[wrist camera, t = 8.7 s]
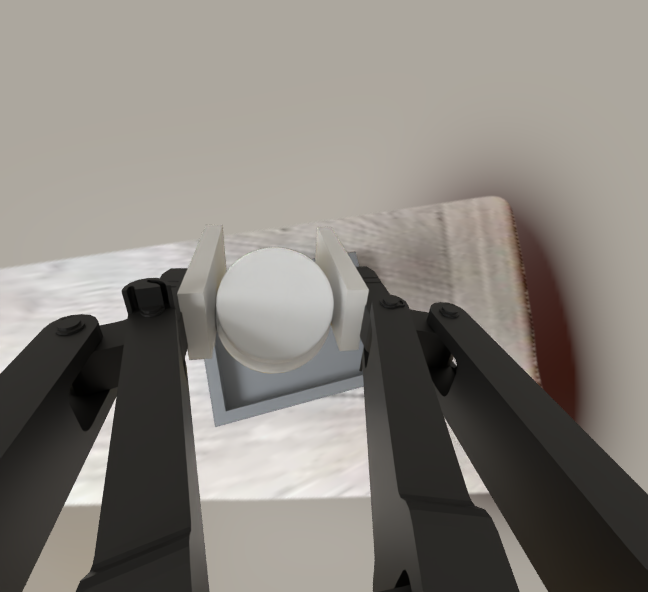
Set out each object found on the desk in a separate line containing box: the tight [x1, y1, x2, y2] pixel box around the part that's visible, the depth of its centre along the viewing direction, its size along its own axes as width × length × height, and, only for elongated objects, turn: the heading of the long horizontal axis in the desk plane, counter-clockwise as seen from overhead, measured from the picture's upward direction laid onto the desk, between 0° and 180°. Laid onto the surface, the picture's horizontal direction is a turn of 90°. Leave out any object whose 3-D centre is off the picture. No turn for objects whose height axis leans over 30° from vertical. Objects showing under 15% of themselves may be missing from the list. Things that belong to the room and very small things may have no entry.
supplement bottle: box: [215, 247, 334, 373], centre depth 15 cm, size 5×5×8 cm
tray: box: [204, 252, 364, 427], centre depth 30 cm, size 16×13×2 cm
